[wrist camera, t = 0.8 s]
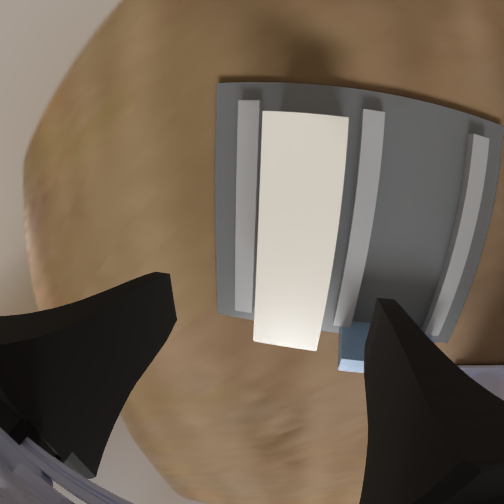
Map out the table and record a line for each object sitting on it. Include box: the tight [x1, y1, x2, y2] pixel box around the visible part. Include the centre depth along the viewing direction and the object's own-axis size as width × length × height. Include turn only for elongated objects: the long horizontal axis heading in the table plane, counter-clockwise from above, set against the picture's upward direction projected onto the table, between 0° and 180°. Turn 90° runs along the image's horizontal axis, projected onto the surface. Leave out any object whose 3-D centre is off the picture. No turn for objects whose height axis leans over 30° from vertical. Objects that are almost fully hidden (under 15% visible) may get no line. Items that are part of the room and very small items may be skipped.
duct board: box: [215, 82, 504, 373], centre depth 15 cm, size 18×16×4 cm
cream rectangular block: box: [253, 111, 349, 351], centre depth 16 cm, size 4×12×4 cm, turn 179°
